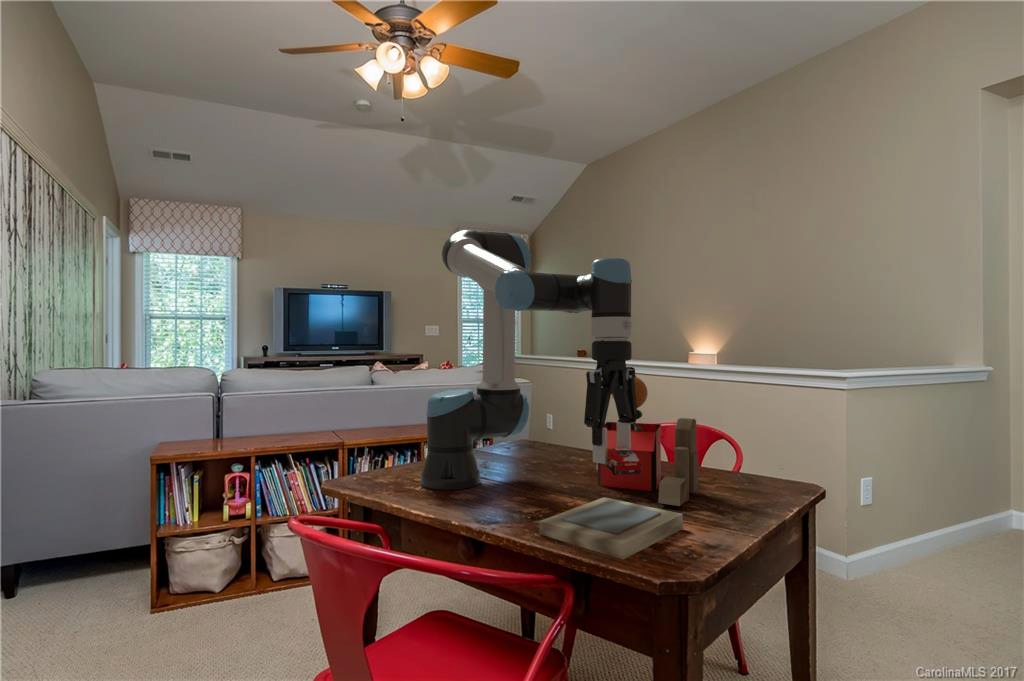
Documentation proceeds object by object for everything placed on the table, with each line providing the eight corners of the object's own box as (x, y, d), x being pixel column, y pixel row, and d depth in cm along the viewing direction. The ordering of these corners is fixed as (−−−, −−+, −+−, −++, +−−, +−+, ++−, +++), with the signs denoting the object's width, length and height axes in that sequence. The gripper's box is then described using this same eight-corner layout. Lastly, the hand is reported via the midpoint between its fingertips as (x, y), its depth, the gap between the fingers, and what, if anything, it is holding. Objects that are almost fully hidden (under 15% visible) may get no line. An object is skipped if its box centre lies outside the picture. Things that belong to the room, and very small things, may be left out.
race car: (596, 461, 112) (596, 441, 111) (623, 460, 112) (623, 440, 112) (615, 479, 98) (615, 456, 98) (645, 478, 99) (645, 455, 99)
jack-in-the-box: (607, 469, 163) (606, 365, 163) (663, 473, 157) (662, 365, 157) (588, 491, 138) (588, 369, 138) (653, 497, 133) (653, 370, 133)
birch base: (539, 537, 106) (539, 519, 106) (604, 511, 122) (604, 495, 122) (622, 561, 94) (622, 541, 94) (682, 529, 110) (682, 511, 110)
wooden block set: (675, 490, 140) (675, 417, 140) (698, 493, 137) (698, 418, 137) (654, 507, 125) (653, 426, 125) (680, 511, 122) (679, 427, 122)
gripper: (597, 339, 98) (598, 471, 98) (655, 339, 113) (656, 453, 113) (563, 340, 103) (563, 465, 103) (622, 340, 118) (623, 449, 118)
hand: (612, 459), depth 108 cm, fingers closed on race car, 8 cm apart
